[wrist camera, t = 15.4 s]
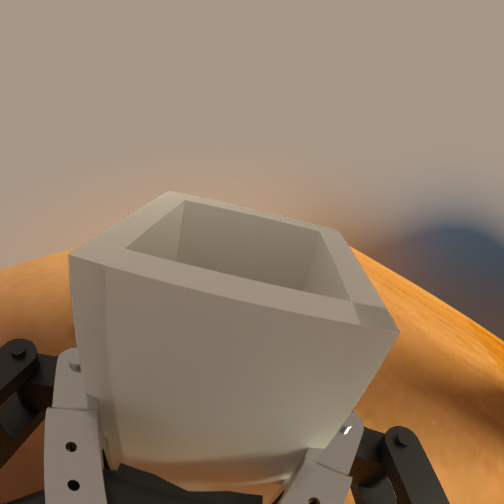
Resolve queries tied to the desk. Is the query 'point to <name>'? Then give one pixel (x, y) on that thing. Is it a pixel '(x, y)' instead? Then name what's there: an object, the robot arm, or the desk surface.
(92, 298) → the white square holder
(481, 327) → the desk surface
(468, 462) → the desk surface
